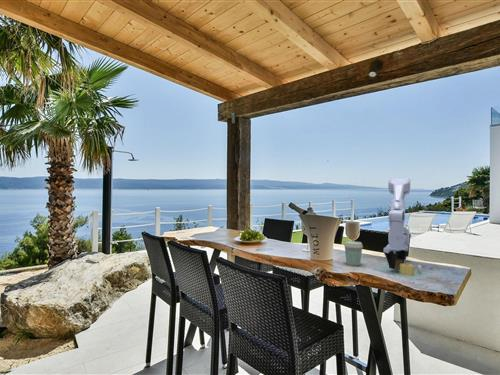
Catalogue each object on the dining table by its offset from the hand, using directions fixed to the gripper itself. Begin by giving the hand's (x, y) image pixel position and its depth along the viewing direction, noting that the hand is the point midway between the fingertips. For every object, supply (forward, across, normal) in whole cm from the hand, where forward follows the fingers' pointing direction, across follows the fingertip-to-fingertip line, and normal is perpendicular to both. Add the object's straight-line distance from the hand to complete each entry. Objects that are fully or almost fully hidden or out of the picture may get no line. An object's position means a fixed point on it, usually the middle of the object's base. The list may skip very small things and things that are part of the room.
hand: (395, 267), depth 135 cm
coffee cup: (+3, -8, +17) cm, 19 cm away
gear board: (+3, +2, -1) cm, 4 cm away
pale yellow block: (+2, 0, -5) cm, 5 cm away
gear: (0, 0, 0) cm, 0 cm away
